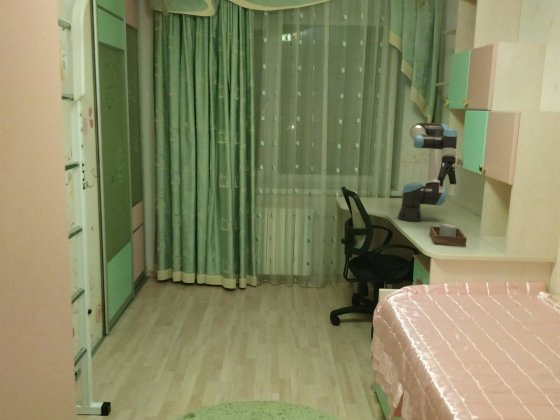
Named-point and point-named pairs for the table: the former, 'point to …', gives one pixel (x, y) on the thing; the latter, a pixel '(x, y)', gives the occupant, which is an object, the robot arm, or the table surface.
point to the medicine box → (447, 230)
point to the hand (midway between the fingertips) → (446, 194)
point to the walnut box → (447, 238)
